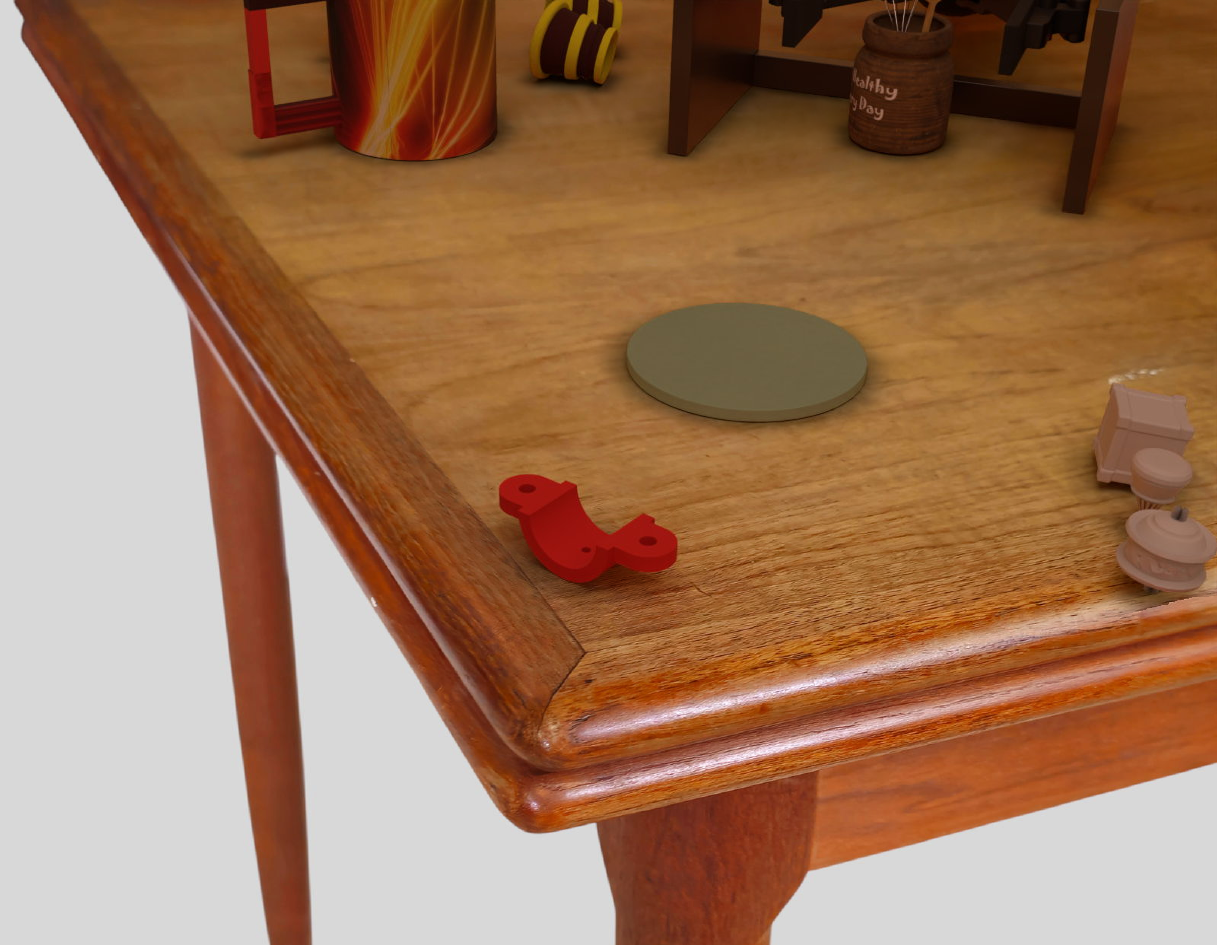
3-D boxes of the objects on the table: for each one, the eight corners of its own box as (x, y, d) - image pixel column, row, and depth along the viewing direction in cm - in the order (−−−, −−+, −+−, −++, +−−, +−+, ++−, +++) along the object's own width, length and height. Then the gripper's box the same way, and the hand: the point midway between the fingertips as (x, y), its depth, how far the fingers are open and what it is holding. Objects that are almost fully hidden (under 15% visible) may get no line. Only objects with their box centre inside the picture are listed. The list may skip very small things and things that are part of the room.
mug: (250, 156, 104) (230, -61, 97) (404, 94, 113) (396, -108, 106) (379, 194, 99) (368, -30, 92) (529, 126, 109) (528, -82, 102)
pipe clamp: (529, 464, 71) (530, 511, 72) (481, 494, 69) (483, 541, 70) (694, 534, 67) (692, 583, 68) (647, 568, 65) (646, 617, 66)
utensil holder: (915, 118, 111) (939, -85, 105) (966, 152, 107) (995, -58, 100) (829, 127, 110) (847, -79, 103) (876, 163, 105) (900, -51, 98)
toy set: (1192, 390, 75) (1164, 466, 77) (1110, 374, 75) (1084, 450, 77) (1234, 542, 65) (1201, 625, 67) (1140, 523, 65) (1109, 607, 67)
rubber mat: (909, 401, 80) (910, 389, 80) (680, 438, 77) (680, 425, 77) (802, 301, 89) (804, 289, 89) (592, 331, 86) (592, 319, 85)
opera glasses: (603, 104, 115) (620, 27, 112) (522, 84, 114) (537, 6, 112) (614, 57, 123) (630, -16, 120) (538, 38, 122) (552, -35, 120)
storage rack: (739, 77, 117) (750, -101, 111) (1115, 127, 111) (1149, -58, 105) (667, 153, 105) (675, -41, 99) (1083, 214, 99) (1119, 11, 93)
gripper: (1144, 24, 117) (1103, 131, 100) (785, -18, 123) (689, 75, 107) (1167, -97, 113) (1128, -7, 96) (794, -134, 119) (695, -56, 102)
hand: (897, 37), depth 101 cm, fingers open, 12 cm apart
